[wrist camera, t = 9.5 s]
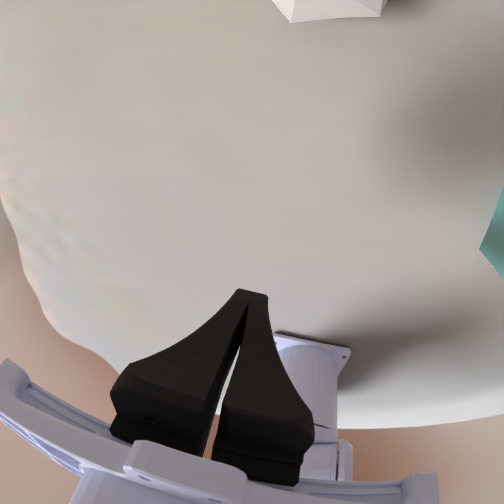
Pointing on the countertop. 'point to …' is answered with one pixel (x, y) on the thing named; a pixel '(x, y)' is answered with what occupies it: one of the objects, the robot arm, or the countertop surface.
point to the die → (329, 9)
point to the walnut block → (495, 239)
